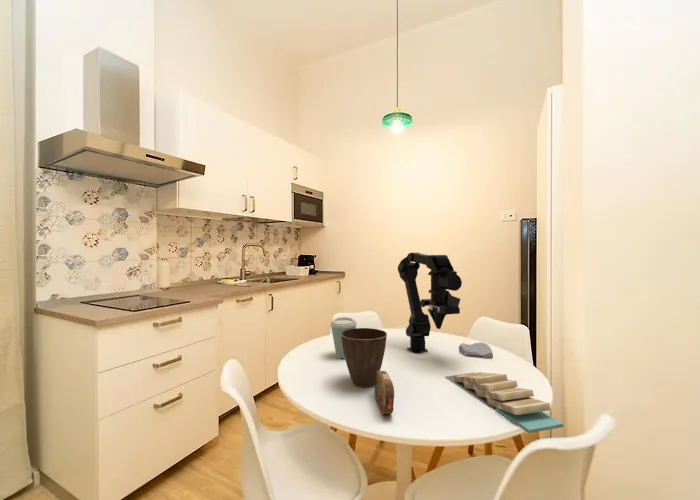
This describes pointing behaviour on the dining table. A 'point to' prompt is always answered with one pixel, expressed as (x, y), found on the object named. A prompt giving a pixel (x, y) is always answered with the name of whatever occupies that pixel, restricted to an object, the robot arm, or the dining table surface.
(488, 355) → the stone block
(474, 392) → the mat
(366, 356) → the plant pot
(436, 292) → the robot arm
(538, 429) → the domino
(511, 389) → the domino
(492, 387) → the domino
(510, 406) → the domino
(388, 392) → the tin
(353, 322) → the disposable coffee cup
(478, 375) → the domino
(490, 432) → the dining table surface
